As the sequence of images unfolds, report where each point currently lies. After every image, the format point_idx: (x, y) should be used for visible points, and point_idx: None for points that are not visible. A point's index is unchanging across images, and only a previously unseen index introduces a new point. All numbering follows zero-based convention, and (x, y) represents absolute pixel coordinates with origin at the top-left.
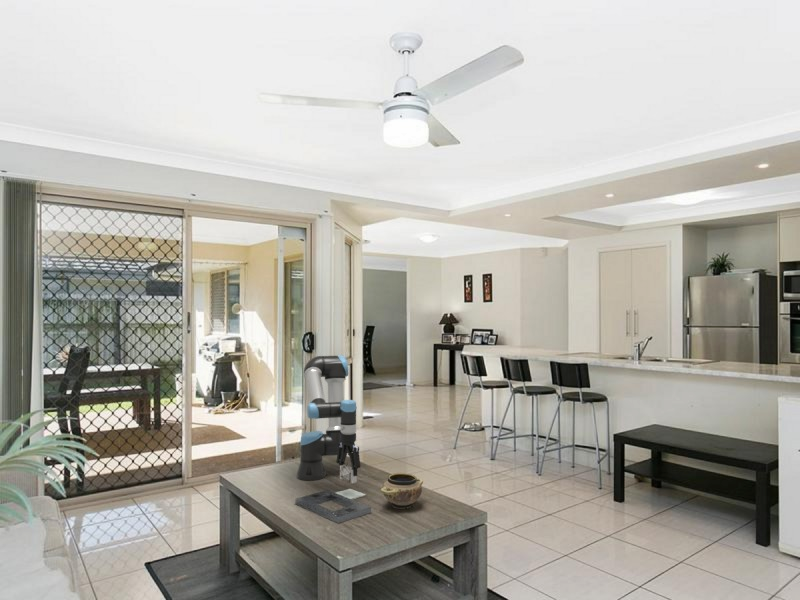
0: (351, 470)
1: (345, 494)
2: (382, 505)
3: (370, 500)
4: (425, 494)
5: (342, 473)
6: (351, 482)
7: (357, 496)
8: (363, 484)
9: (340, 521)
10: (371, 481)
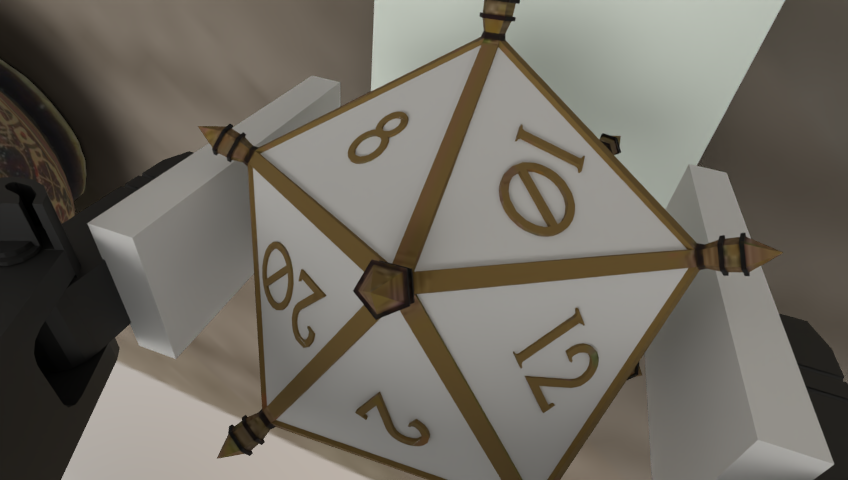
0: (152, 212)
1: (556, 57)
2: (70, 41)
3: (235, 91)
4: (152, 354)
5: (487, 99)
6: (324, 84)
7: (377, 85)
8: (607, 413)
9: None
10: (589, 474)
